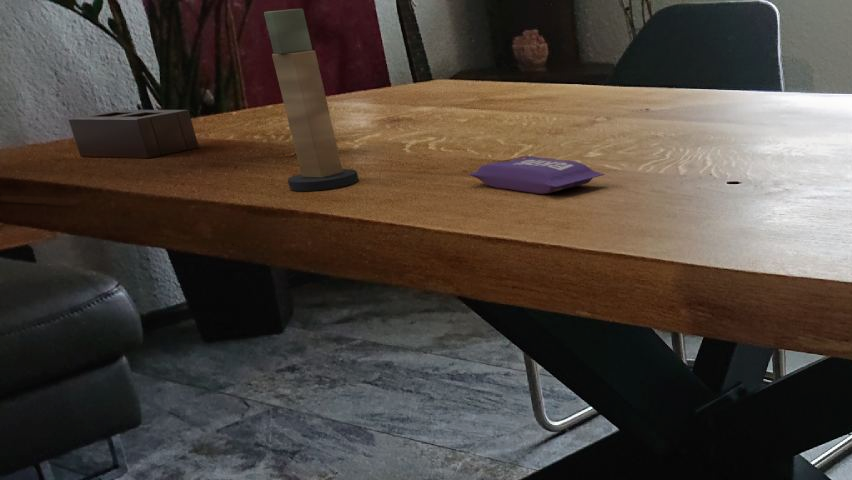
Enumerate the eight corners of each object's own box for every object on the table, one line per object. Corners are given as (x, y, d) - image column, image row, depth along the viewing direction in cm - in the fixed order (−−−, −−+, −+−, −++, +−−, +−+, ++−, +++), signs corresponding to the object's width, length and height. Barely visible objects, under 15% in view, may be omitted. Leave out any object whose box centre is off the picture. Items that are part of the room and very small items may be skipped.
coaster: (287, 194, 91) (285, 184, 91) (292, 182, 96) (290, 173, 96) (358, 186, 93) (356, 176, 92) (359, 175, 98) (357, 166, 97)
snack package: (604, 161, 85) (554, 174, 82) (608, 186, 86) (558, 200, 83) (513, 151, 92) (463, 162, 89) (517, 174, 93) (468, 186, 90)
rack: (148, 158, 114) (137, 119, 113) (80, 156, 119) (67, 118, 117) (199, 147, 119) (188, 109, 118) (131, 146, 124) (120, 109, 122)
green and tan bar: (318, 179, 92) (278, 11, 87) (297, 178, 93) (256, 12, 88) (346, 171, 95) (309, 8, 89) (326, 171, 96) (288, 9, 90)
